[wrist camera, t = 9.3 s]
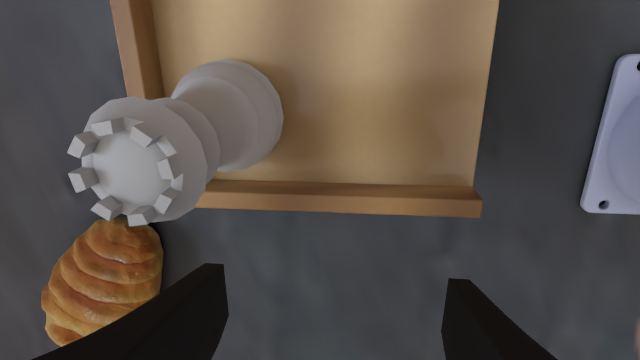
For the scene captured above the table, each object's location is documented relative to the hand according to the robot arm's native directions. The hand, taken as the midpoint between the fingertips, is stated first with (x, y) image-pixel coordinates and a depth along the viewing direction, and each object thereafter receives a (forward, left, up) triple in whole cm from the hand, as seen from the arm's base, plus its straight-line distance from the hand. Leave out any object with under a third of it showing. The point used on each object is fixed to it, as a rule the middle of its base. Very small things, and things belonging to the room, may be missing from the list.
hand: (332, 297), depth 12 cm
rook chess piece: (+5, -5, -6) cm, 9 cm away
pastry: (+15, +7, -10) cm, 20 cm away
